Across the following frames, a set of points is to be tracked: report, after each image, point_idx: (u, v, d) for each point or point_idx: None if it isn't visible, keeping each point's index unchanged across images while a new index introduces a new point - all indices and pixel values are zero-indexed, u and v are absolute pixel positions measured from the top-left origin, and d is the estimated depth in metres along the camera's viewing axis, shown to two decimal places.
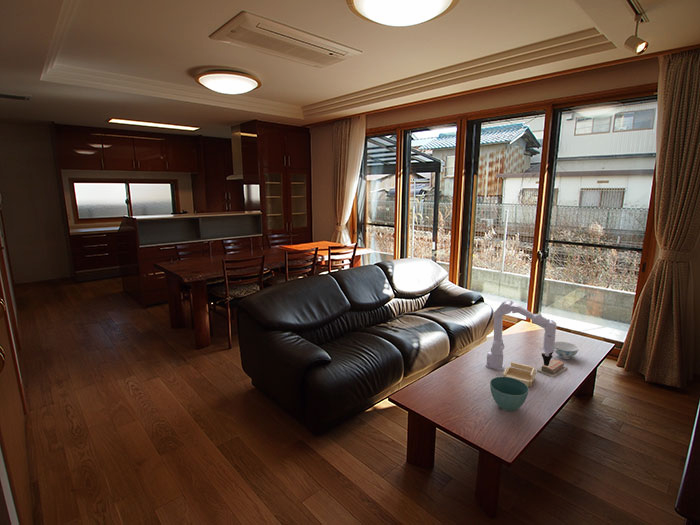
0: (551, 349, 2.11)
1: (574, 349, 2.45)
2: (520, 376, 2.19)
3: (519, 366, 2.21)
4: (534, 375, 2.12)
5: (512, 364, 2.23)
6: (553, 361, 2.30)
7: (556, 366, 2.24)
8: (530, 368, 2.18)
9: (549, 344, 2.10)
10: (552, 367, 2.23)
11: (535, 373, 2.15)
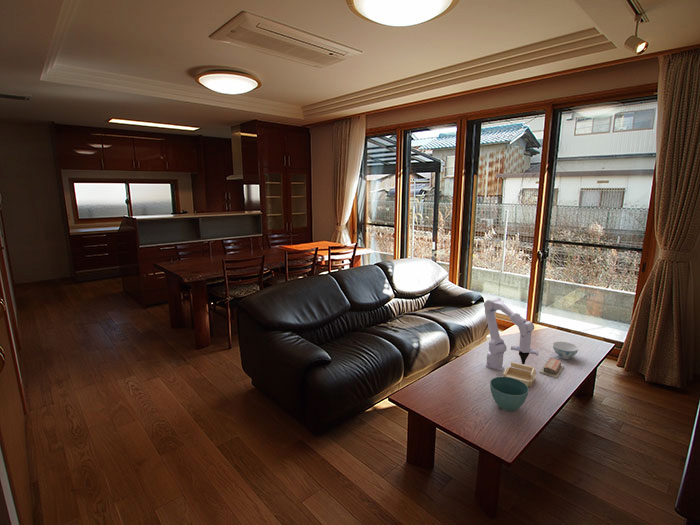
0: (520, 348, 2.12)
1: (574, 349, 2.45)
2: (520, 376, 2.19)
3: (519, 366, 2.21)
4: (534, 375, 2.12)
5: (512, 364, 2.23)
6: (551, 361, 2.30)
7: (556, 366, 2.25)
8: (530, 368, 2.18)
9: None
10: (554, 367, 2.22)
11: (535, 373, 2.15)
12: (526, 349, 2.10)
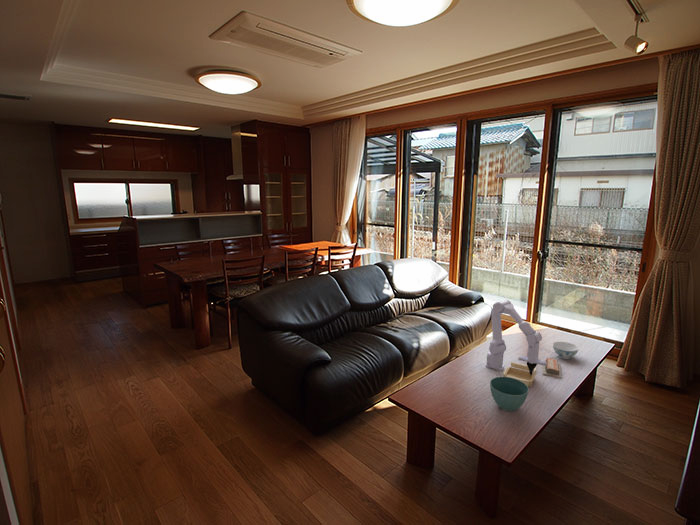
0: (527, 358, 2.11)
1: (574, 349, 2.45)
2: (520, 376, 2.19)
3: (519, 366, 2.21)
4: (535, 375, 2.12)
5: (512, 364, 2.23)
6: (549, 361, 2.31)
7: (557, 365, 2.25)
8: None
9: (527, 353, 2.12)
10: (555, 367, 2.22)
11: (535, 373, 2.14)
12: (534, 360, 2.08)
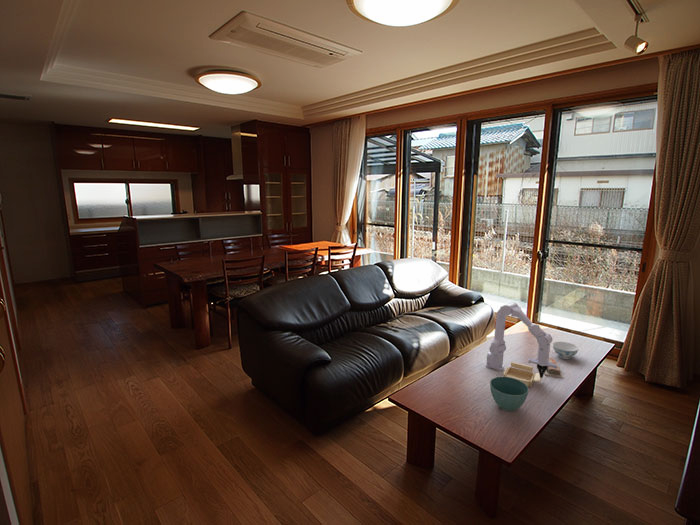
0: (538, 361, 2.08)
1: (574, 349, 2.45)
2: (520, 376, 2.19)
3: (519, 366, 2.21)
4: None
5: (512, 364, 2.23)
6: None
7: (557, 365, 2.25)
8: (530, 368, 2.18)
9: None
10: None
11: None
12: (544, 362, 2.05)
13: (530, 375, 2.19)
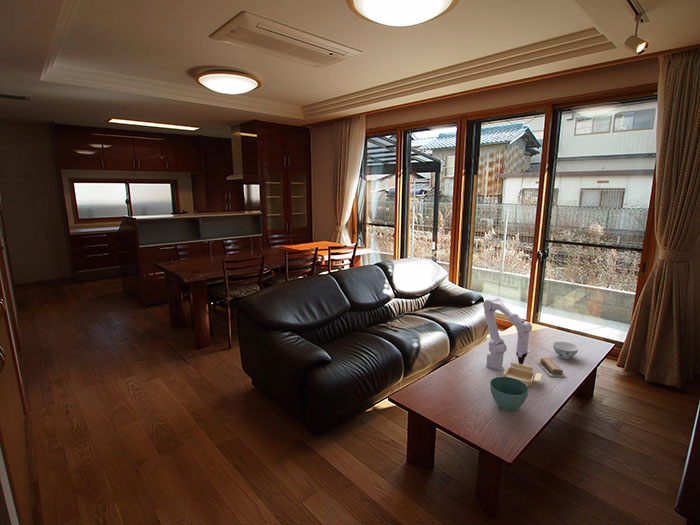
0: (524, 350, 2.11)
1: (574, 349, 2.45)
2: (520, 376, 2.19)
3: (519, 366, 2.21)
4: None
5: (512, 364, 2.23)
6: (547, 361, 2.30)
7: (556, 365, 2.26)
8: (530, 368, 2.18)
9: (522, 345, 2.10)
10: (558, 367, 2.22)
11: None
12: None
13: (530, 375, 2.19)
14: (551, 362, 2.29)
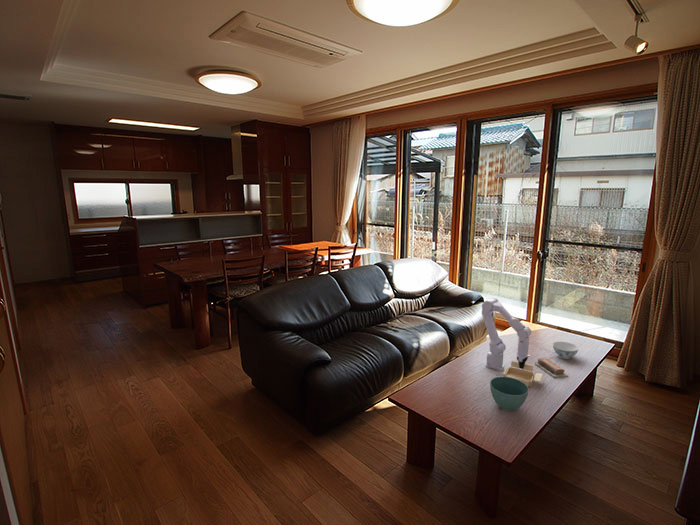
0: (525, 355, 2.16)
1: (574, 349, 2.45)
2: (520, 376, 2.19)
3: None
4: None
5: (512, 363, 2.24)
6: (546, 361, 2.30)
7: None
8: (530, 367, 2.19)
9: (523, 350, 2.16)
10: (559, 367, 2.23)
11: None
12: None
13: (530, 375, 2.19)
14: (550, 362, 2.29)
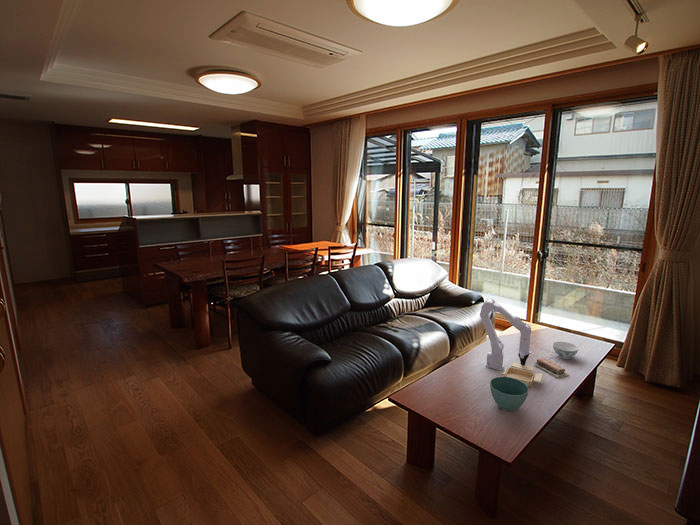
0: (526, 351, 2.20)
1: (574, 349, 2.45)
2: (520, 376, 2.19)
3: (520, 366, 2.24)
4: None
5: (513, 364, 2.26)
6: (545, 361, 2.30)
7: (555, 364, 2.27)
8: (531, 368, 2.21)
9: (524, 347, 2.20)
10: (559, 367, 2.23)
11: None
12: None
13: (530, 375, 2.19)
14: (549, 362, 2.29)
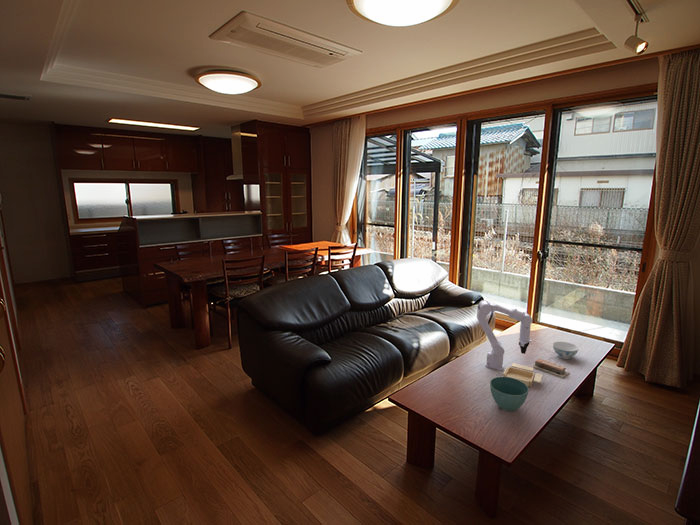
0: (526, 340, 2.23)
1: (574, 349, 2.45)
2: (520, 376, 2.19)
3: (519, 366, 2.24)
4: None
5: (513, 364, 2.27)
6: (544, 362, 2.29)
7: (554, 364, 2.27)
8: (531, 368, 2.21)
9: (525, 335, 2.23)
10: (560, 366, 2.24)
11: None
12: None
13: (530, 375, 2.19)
14: (548, 362, 2.29)
